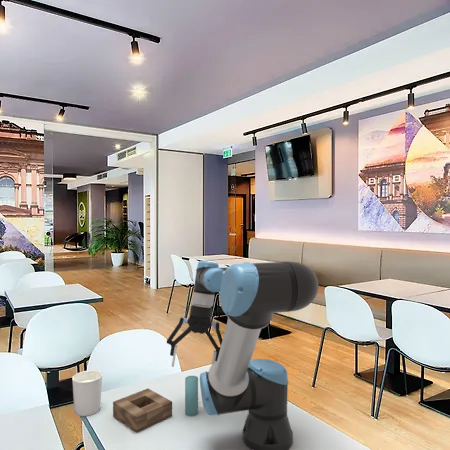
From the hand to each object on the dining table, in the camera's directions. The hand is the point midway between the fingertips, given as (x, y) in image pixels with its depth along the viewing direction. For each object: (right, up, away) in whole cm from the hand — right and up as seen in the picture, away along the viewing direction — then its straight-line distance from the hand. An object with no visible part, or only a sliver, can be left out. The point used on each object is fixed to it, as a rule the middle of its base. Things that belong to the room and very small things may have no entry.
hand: (192, 368), depth 132 cm
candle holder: (-37, -15, +2) cm, 40 cm away
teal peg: (0, -15, +1) cm, 15 cm away
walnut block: (-17, -15, -2) cm, 23 cm away
